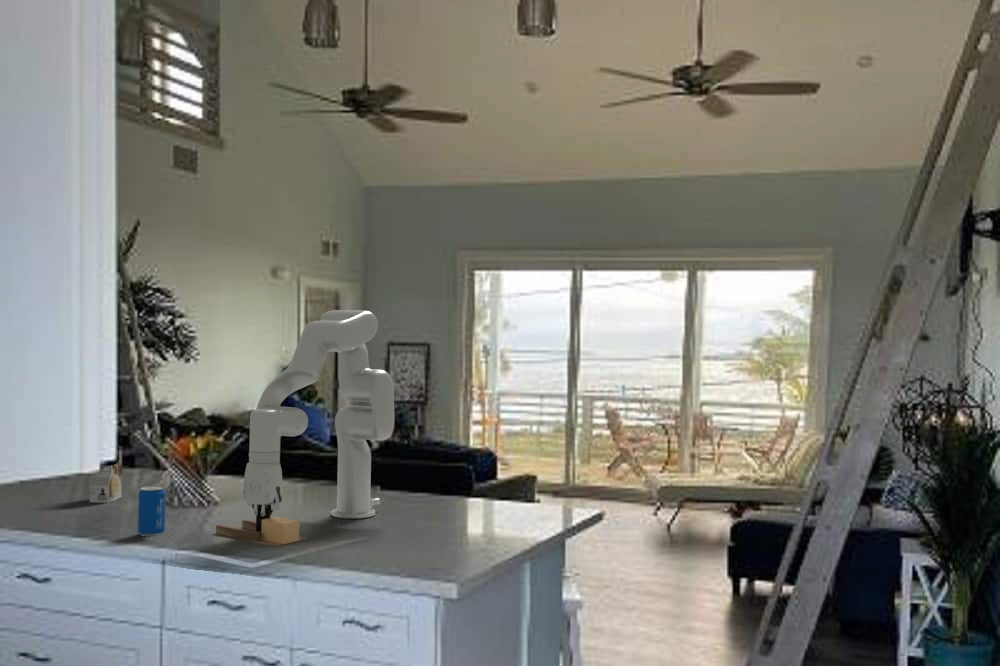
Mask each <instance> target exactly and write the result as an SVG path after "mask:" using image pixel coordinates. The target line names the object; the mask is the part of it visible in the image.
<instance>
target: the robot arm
mask: <svg viewBox="0 0 1000 666" xmlns="http://www.w3.org/2000/svg"><path fill="white" fill-rule="evenodd" d="M378 326H379V322H378V319H377V316H376V315H375V314H373V312H371V311H368V310H363V309H362V310H361V309H360V310H359V309H358V310H357V309H356V310H353V309H352V310H351V309H344V310H343V309H334V310H333V309H331V310H328V311H326V312H324V313H322V315H321V316H320V319H319V320H312V321H309V323H307V324H306V325H305V326H304V328H303V330H302V332H301V335H300V337H299V340H298V342H297V346H296V347H295V350H294V353H293V355H292V357H291V361H290V362H289V365H288V367H287V368H285V370H284V371H283V372H281V373H280V374H278V375H277V376H276V377H275V378H274V379H273V380H272V381H271V382H270V383H269V384H267V386H266V388H265V389H264V390H263V392H262V394H261V396H260V398H259V401H258V402H257V406H256V408H255V409H253V410H252V411H251V412H250V416H249V451H248V462H247V463H246V467H245V472H244V476H243V477H244V478H243V488H242V499H243V500H244V502H246V503H247V505H248V506H249V507H251V508H252V509H253V514H254V516H255V521H256V531H258V532H261V531H262V519H267V518H271V516H272V515H273V512H274V511H275V510H280V508H281V504H280V503H282V501H283V493H284V490H283V487H284V485H283V483H284V481H283V473H282V467H281V466H282V465H281V460H280V459H281V458H280V457H281V437H283V436H284V437H297V436H300V435H302V434H303V433H304V432H305V431H306V429H307V428H308V425H309V418H308V415H307V413H306V411H304V410H303V409H301V408H298V407H294V406H293V407H292V406H281V405H282V402H284V401H285V399H286V398H287V397H288V396H290V395H291V394H292V393H294V392H296V391H299V390H300V389H303V388H306V387H308V386H310V385H312V384H314V383H316V382H317V381H318V380H319V379H320V376H321V373H322V371H323V368H324V366H325V363H326V360H327V357H328V355H329V353H333V352H334V353H338V354H337V355H338V374H339V375H338V377H339V378H338V379H339V380H338V381H339V382H338V383H339V393H340V395H341V397H342V398H343V399H344V400H346V401H350V402H361V403H362V402H363V403H364V402H365V403H370V405H371V406H367V405H354V404H353V405H347V406H344V407H341V408H340V409H339V410H338V411H337V412H336V415H335V418H334V428H335V433H336V438H337V439H336V440H337V478H336V479H337V484H336V485H337V486H336V490H337V491H336V493H337V494H336V508H334V509H332V510H331V511H330V514H331V516H332V517H334V518H338V519H339V518H340V519H365V518H371V517H373V516H375V515H376V510H375V509H374V508H373V506H377V505H380V503H381V499H380V498H379V497H375V498H373V497H371V481H372V480H371V478H372V477H371V476H372V475H371V474H372V473H371V472H372V451H371V449H370V446H369V444H368V442H367V441H386V440H388V439H389V438H391V436H392V434H393V433H394V430H395V429H394V428H395V389H394V388H395V387H394V382H393V379H392V377H391V374H390V373H388V372H387V371H386V370H384V369H380V368H379V369H377V368H375V369H374V368H370V363H369V351H368V348H367V346H366V343H368V342H370V341H371V340H372V339H373V338H374V337H375V335H376V334H377V332H378V329H379V328H378Z"/></svg>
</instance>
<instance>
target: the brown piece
mask: <svg viewBox="0 0 1000 666" xmlns="http://www.w3.org/2000/svg"><path fill="white" fill-rule="evenodd" d="M216 535H222V536H227V537H229V538H230V539H237V540H242V541H246V542H250V543H256V544H262V545H265V546H272V547H276V546H280V545H282V544H281V543H276V542H271V541H266V540H262V533H261V532H258V531H256V520H250V519H242V523H241V527H240V528H239V527H233V526H229V525H224V524H223V525H222V524H217V525H215V533H214V536H216ZM306 539H308V537H306V536H300V535H299V541H301V540H302V541H303V540H306Z"/></svg>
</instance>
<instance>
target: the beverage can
mask: <svg viewBox="0 0 1000 666" xmlns="http://www.w3.org/2000/svg"><path fill="white" fill-rule="evenodd" d="M137 506H138V510H137V511H138V513H137V514H138V515H137V516H138V517H137V518H138V520H137V521H138V522H137V526H138V527H137V533H138V534H139V535H140V536H141V537H144V536H145V537H146V538H151V537H156V536H160V535H161V536H162V535H163V533H165V532H166V530H165V529H166V491H165V487H164V486H160V485H156V486H155V485H152V486H151V485H149V486H143V487H141V488H140V491H139V492H138V505H137Z"/></svg>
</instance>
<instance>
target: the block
mask: <svg viewBox="0 0 1000 666" xmlns="http://www.w3.org/2000/svg"><path fill="white" fill-rule="evenodd" d="M261 533H262V540H266V541H271V542H276V543H281V545H286V544H291V543H295V542H298V541H300V540H299V536H300V520H298V519H294V518H293V519H292V518H289V517H282V516H273V517H270V518H267V519H262V531H261Z"/></svg>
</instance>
